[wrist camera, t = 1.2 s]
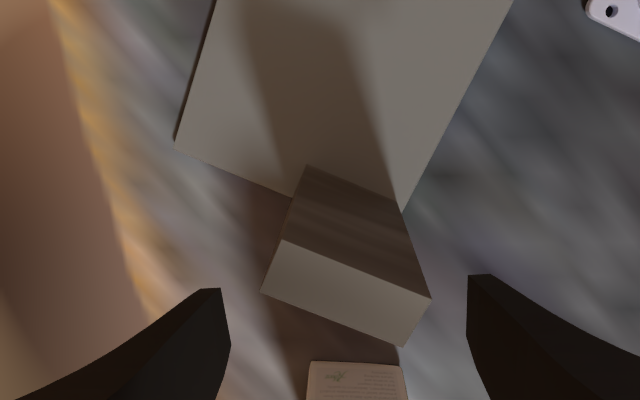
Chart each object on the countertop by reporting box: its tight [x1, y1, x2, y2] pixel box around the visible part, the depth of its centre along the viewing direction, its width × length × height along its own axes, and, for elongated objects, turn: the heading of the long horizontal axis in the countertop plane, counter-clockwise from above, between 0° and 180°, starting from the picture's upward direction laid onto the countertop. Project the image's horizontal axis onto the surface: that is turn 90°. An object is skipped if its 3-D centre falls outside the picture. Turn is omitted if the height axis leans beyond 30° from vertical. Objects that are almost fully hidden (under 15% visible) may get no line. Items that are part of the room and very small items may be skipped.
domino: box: [259, 164, 432, 348], centre depth 17 cm, size 2×5×9 cm, turn 67°
